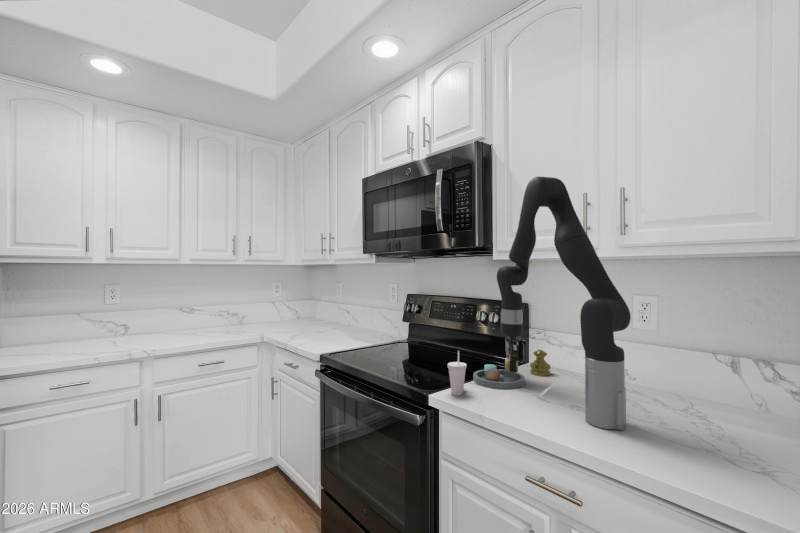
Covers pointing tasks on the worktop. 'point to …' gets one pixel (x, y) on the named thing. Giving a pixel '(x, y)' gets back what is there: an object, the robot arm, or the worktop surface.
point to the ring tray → (506, 380)
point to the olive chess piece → (540, 364)
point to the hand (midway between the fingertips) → (511, 369)
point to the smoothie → (457, 376)
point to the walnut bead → (493, 375)
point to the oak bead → (507, 365)
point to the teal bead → (489, 367)
